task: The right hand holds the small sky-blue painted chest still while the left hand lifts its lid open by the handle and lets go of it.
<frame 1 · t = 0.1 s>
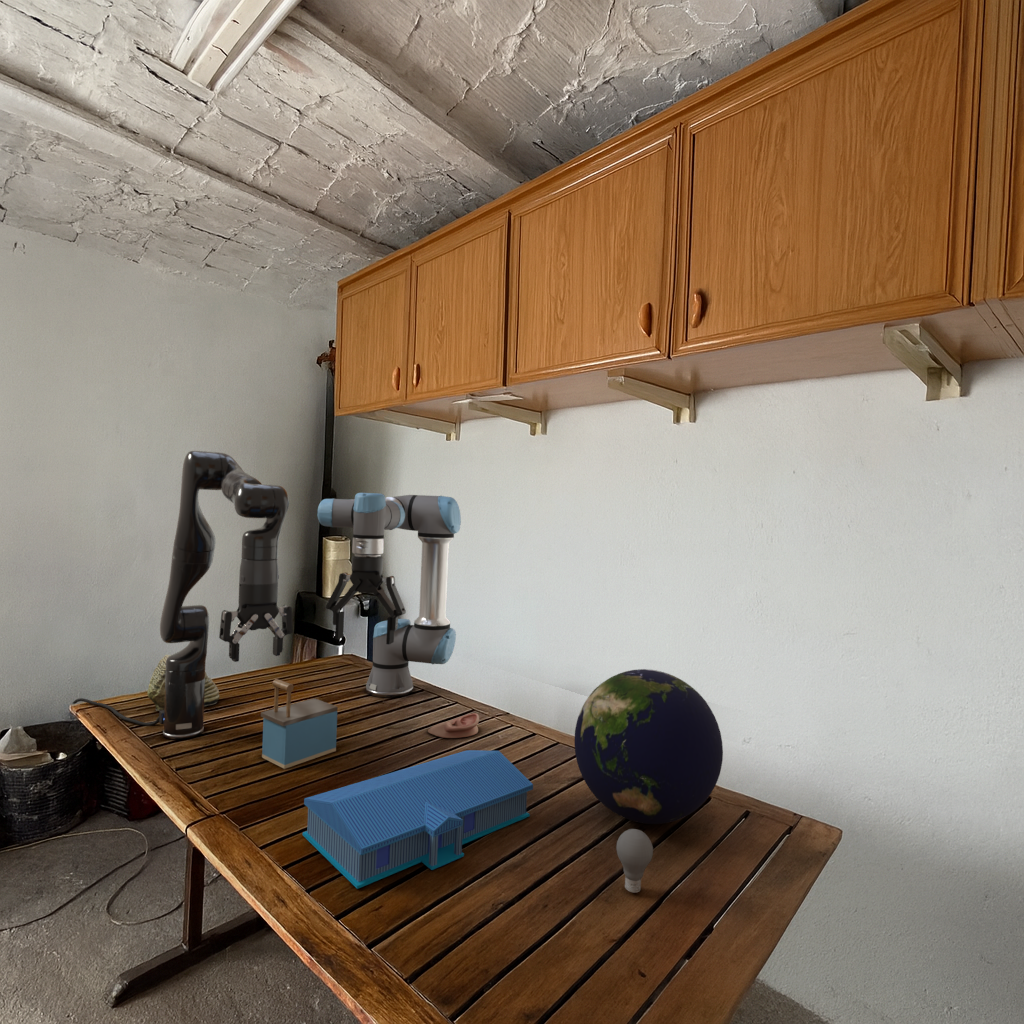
left hand: (256, 657, 132), 29 cm above the table, tool pointing down, fingers open, 8 cm apart
right hand: (364, 640, 157), 28 cm above the table, tool pointing down, fingers open, 13 cm apart
chest: (299, 754, 155), on the table
light bulb: (632, 891, 106), on the table
fossil: (183, 706, 185), on the table
model building: (425, 828, 123), on the table
globe: (643, 816, 131), on the table
anatomical model: (453, 731, 174), on the table
lid: (300, 695, 154), point 15 cm above the table, hinge at 0.0°
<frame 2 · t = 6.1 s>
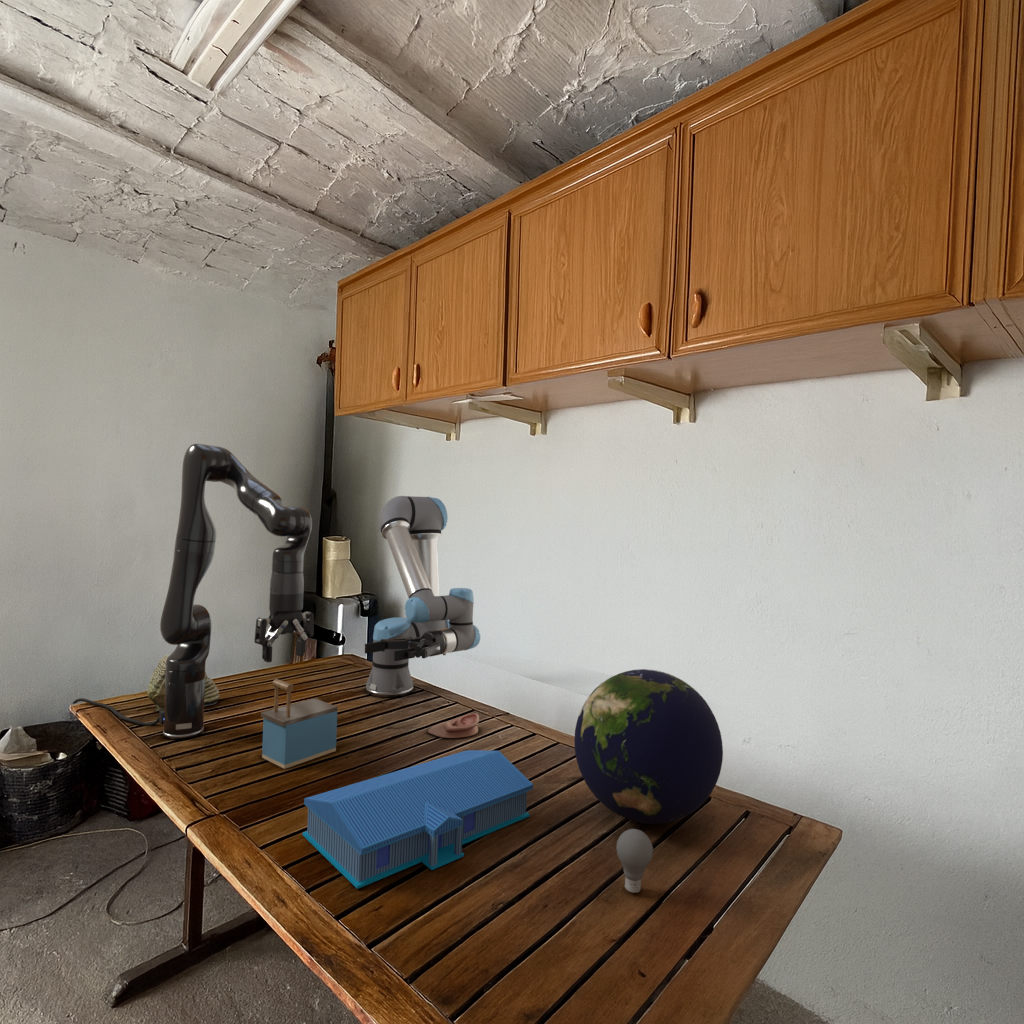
left hand: (284, 658, 150), 24 cm above the table, tool pointing down, fingers open, 8 cm apart
right hand: (379, 652, 176), 21 cm above the table, tool horizontal, fingers open, 13 cm apart
nothing on the table moved.
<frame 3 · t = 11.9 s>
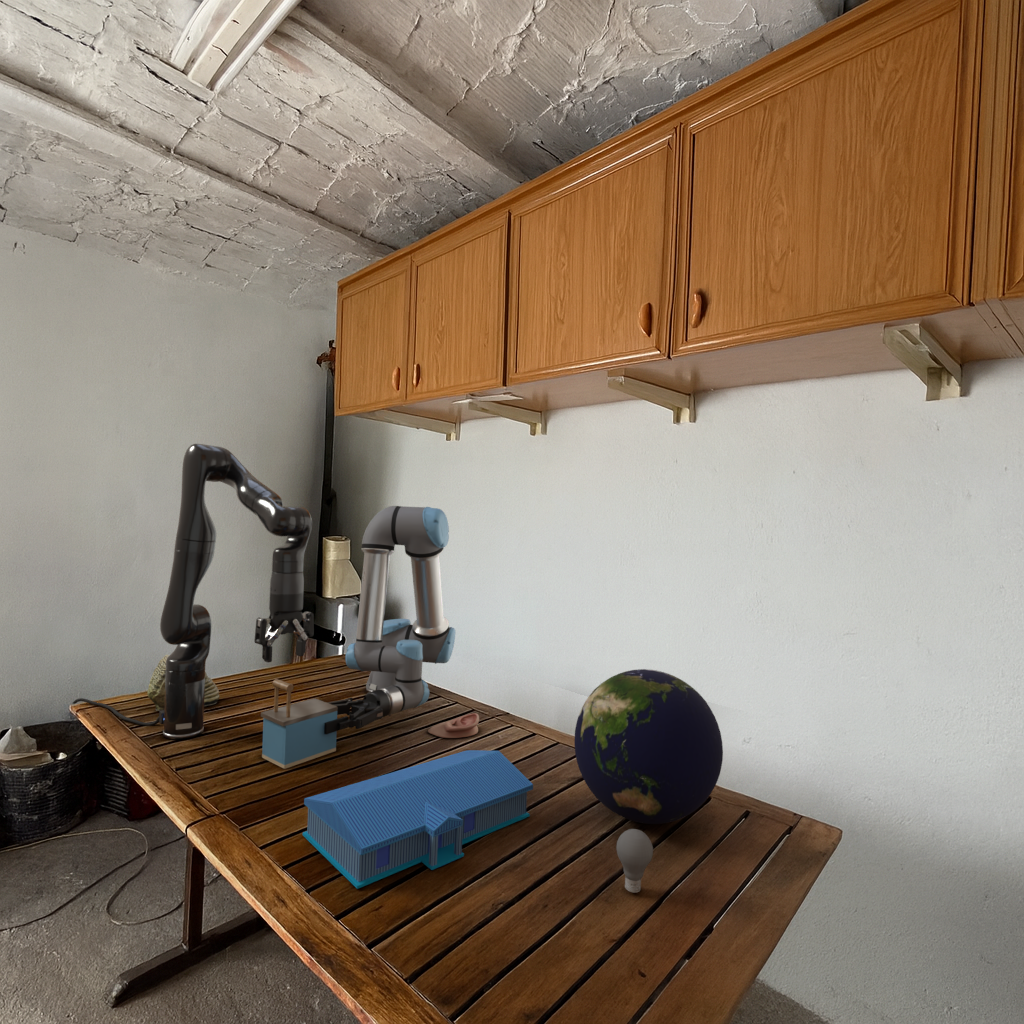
left hand: (284, 658, 150), 24 cm above the table, tool pointing down, fingers open, 8 cm apart
right hand: (312, 723, 158), 7 cm above the table, tool horizontal, fingers closed on chest, 9 cm apart
chest: (299, 754, 155), on the table, touching right hand
everything else where it was.
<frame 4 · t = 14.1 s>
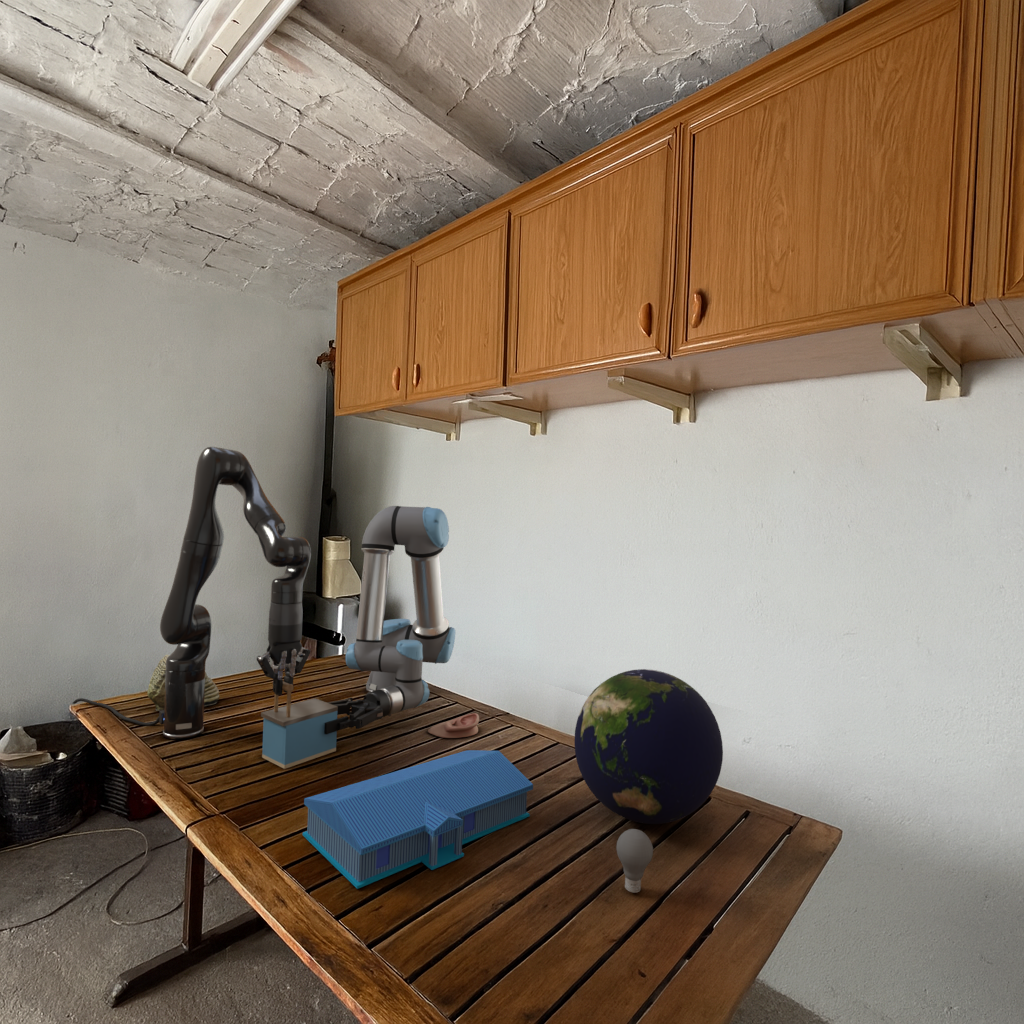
left hand: (282, 693, 150), 16 cm above the table, tool pointing down, fingers closed on lid, 2 cm apart
right hand: (313, 723, 158), 7 cm above the table, tool horizontal, fingers closed on chest, 9 cm apart
chest: (299, 754, 155), on the table, touching right hand
lid: (300, 695, 154), point 15 cm above the table, hinge at -0.1°, touching left hand
everything else where it was.
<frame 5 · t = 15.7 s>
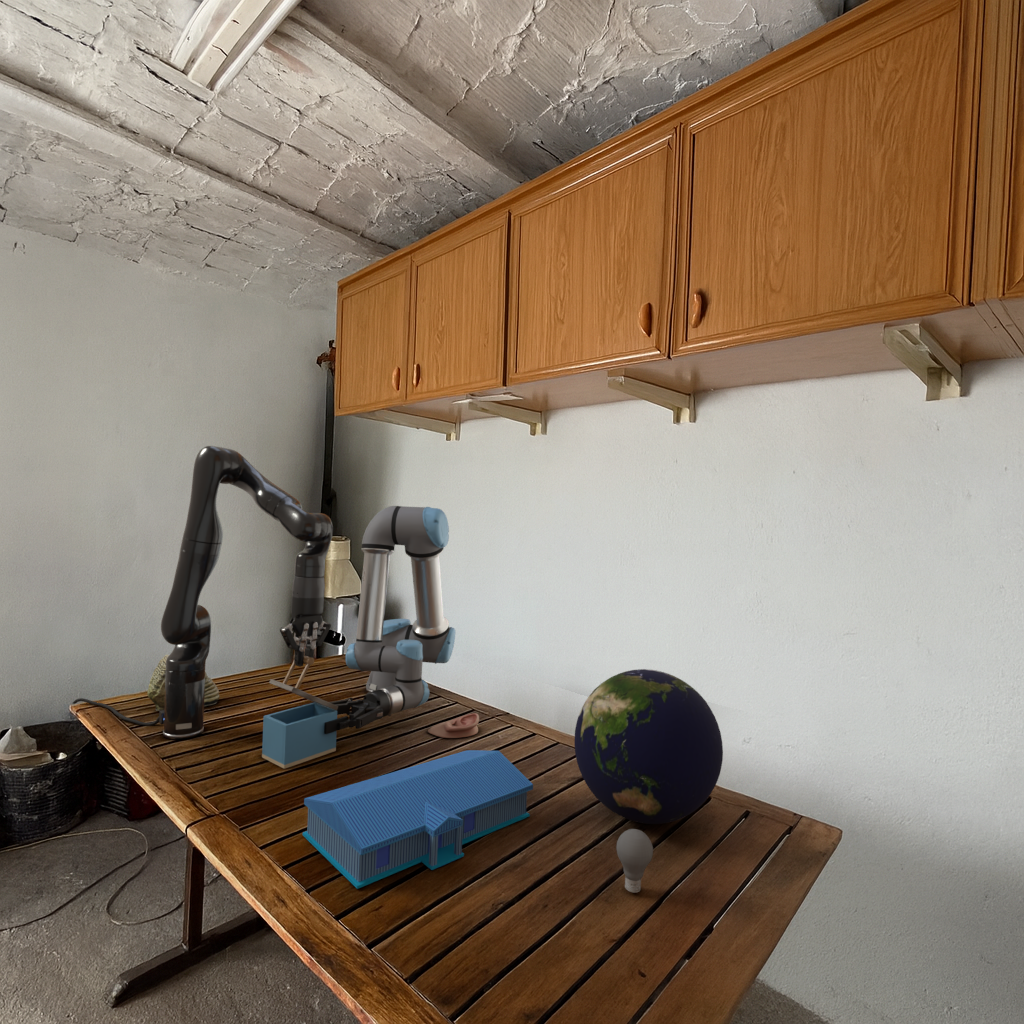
left hand: (303, 664, 155), 22 cm above the table, tool pointing down, fingers closed on lid, 2 cm apart
right hand: (312, 723, 158), 7 cm above the table, tool horizontal, fingers closed on chest, 9 cm apart
chest: (299, 754, 155), on the table, touching right hand
lid: (311, 679, 157), point 18 cm above the table, hinge at 30.3°, touching left hand
everything else where it was.
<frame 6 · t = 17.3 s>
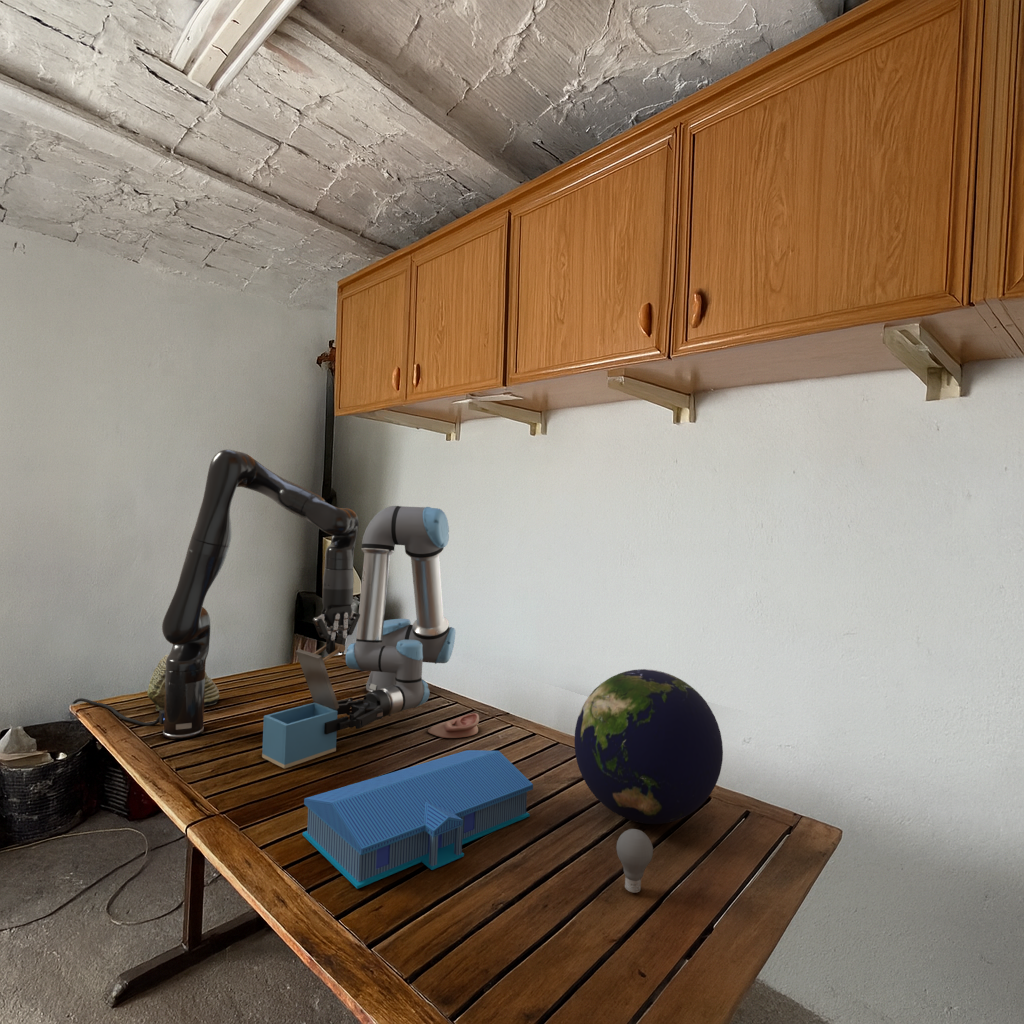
left hand: (335, 653, 162), 23 cm above the table, tool pointing down, fingers closed
right hand: (313, 723, 158), 7 cm above the table, tool horizontal, fingers closed on chest, 9 cm apart
chest: (299, 754, 155), on the table, touching right hand
lid: (329, 670, 161), point 19 cm above the table, hinge at 67.1°
everything else where it was.
when the right hand's fingers open (7 cm above the table, at t = 21.1 s): chest stays where it is, on the table.
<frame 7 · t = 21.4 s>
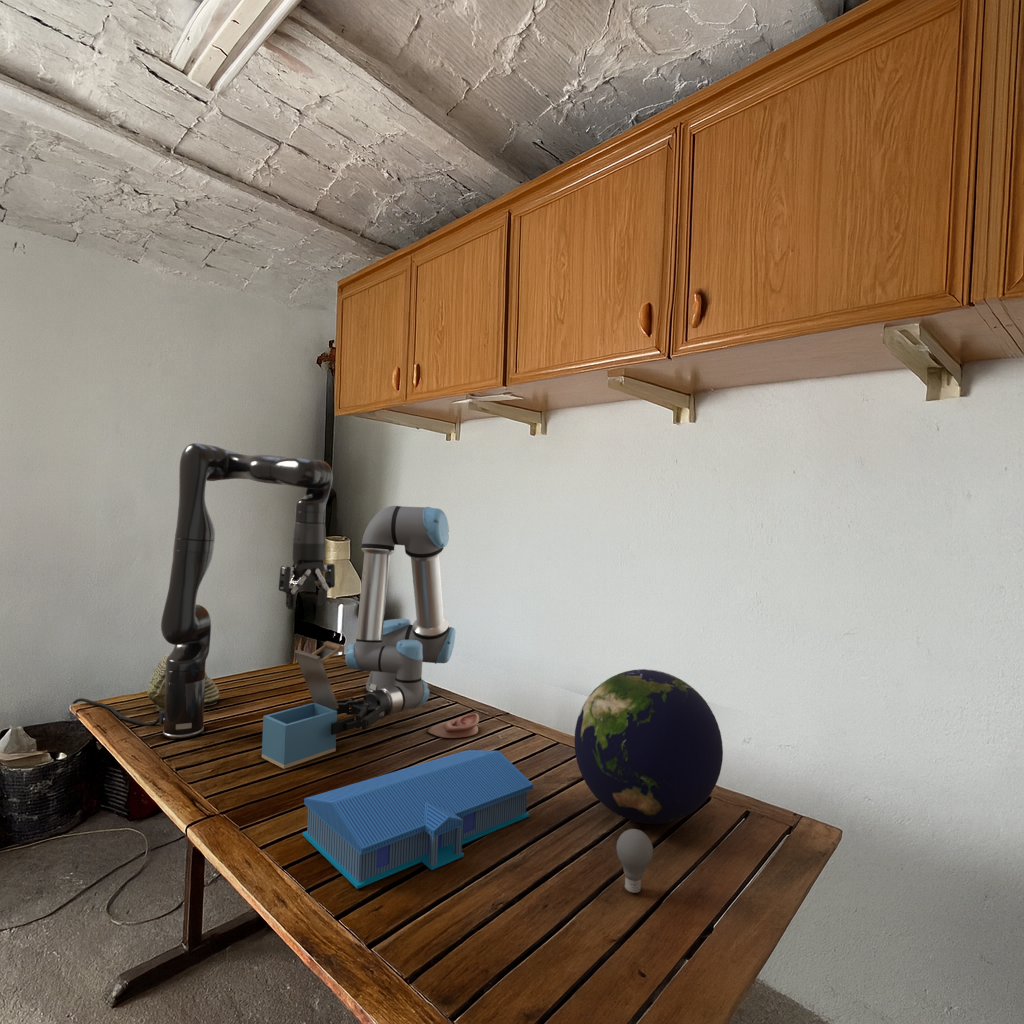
left hand: (306, 607, 155), 36 cm above the table, tool pointing down, fingers open, 8 cm apart
right hand: (315, 722, 158), 7 cm above the table, tool horizontal, fingers open, 12 cm apart
chest: (299, 754, 155), on the table
lid: (328, 670, 161), point 19 cm above the table, hinge at 66.1°
everything else where it was.
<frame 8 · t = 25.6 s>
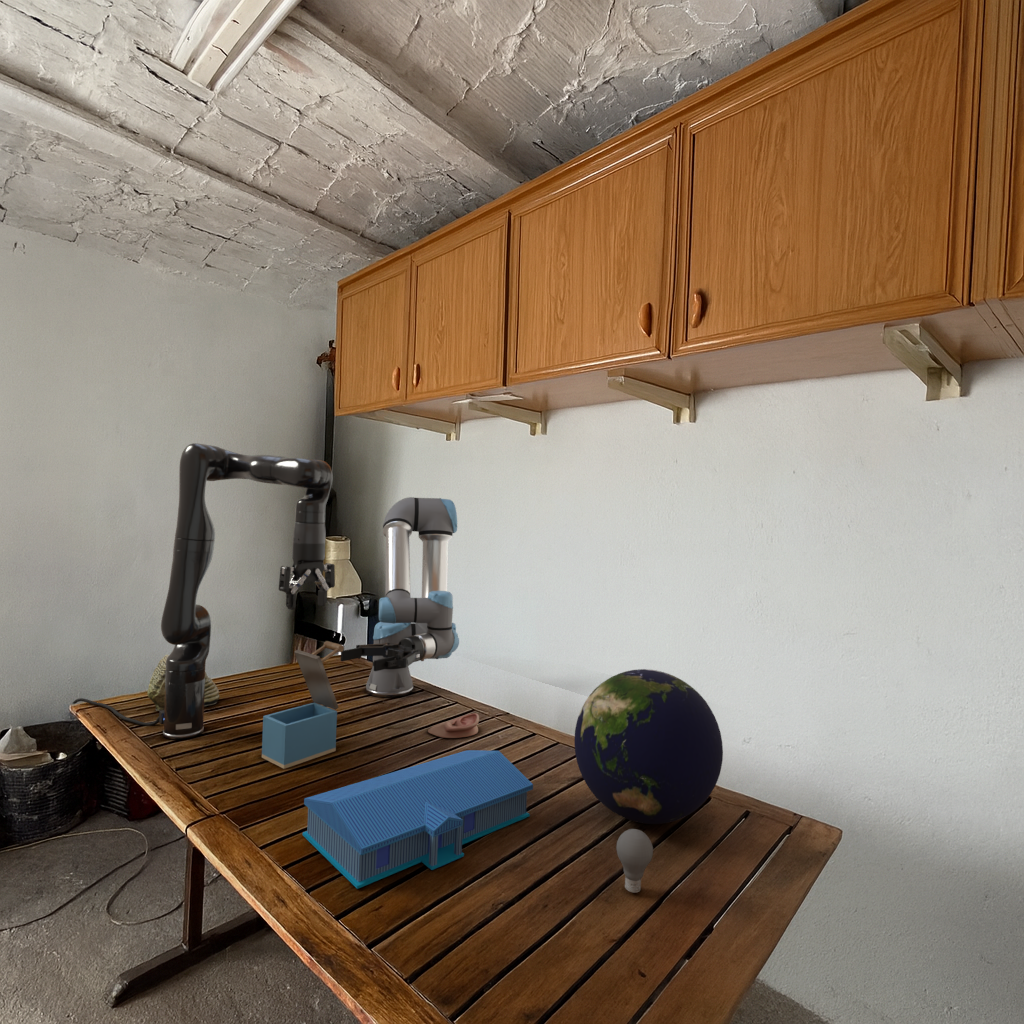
left hand: (306, 607, 155), 36 cm above the table, tool pointing down, fingers open, 8 cm apart
right hand: (357, 660, 168), 20 cm above the table, tool horizontal, fingers open, 13 cm apart
nothing on the table moved.
at the end: lid at +66° (first picture: +0°); the left hand is holding nothing; the right hand is holding nothing; chest tilted 0°; chest never tilted more than 1° during the clip; chest moved 0.1 cm from its start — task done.
